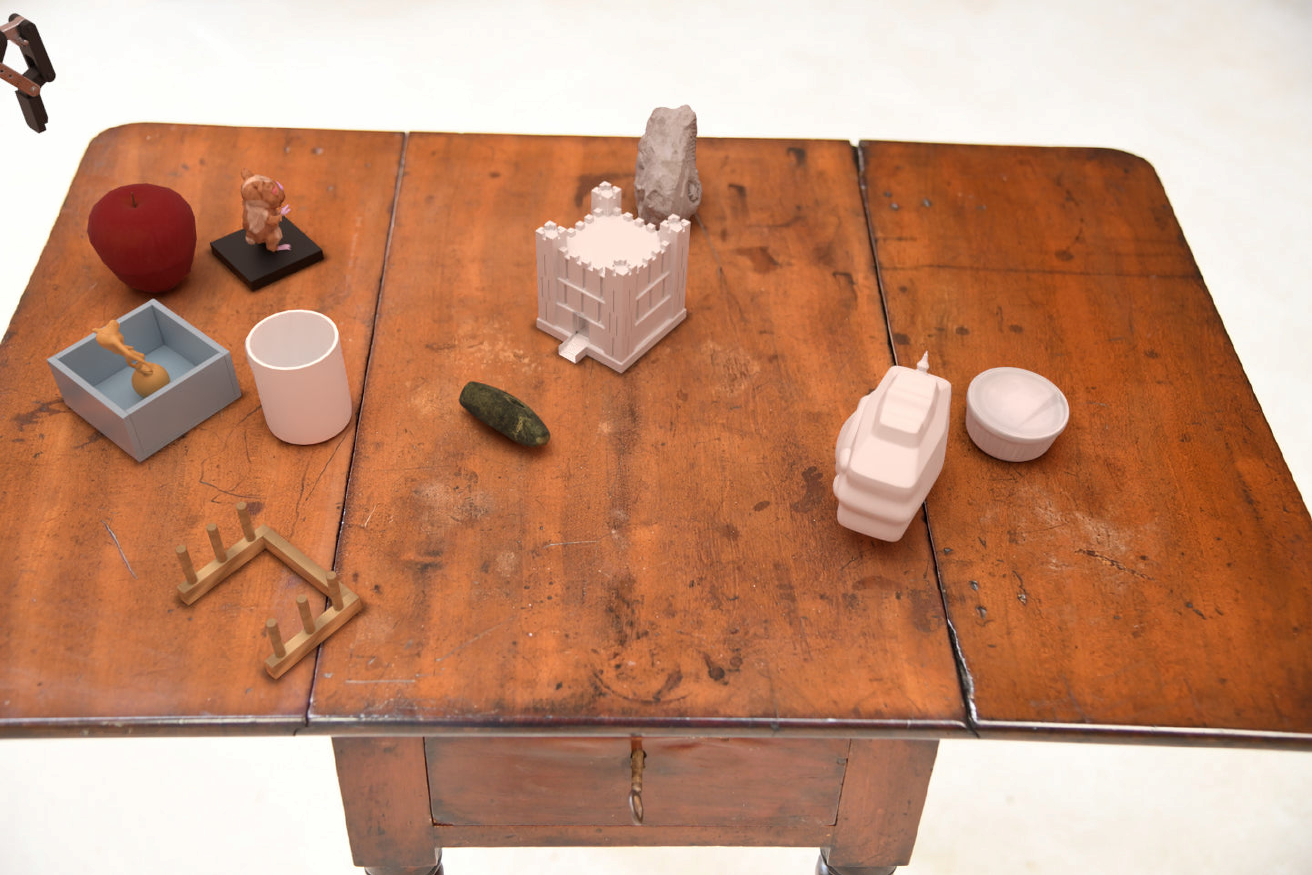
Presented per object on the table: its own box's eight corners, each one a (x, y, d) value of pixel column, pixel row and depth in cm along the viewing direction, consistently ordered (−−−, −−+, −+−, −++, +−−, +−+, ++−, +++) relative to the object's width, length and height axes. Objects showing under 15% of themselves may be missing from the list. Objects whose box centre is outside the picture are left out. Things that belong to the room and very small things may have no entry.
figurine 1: (193, 400, 141) (167, 319, 132) (148, 430, 138) (119, 349, 129) (146, 368, 144) (118, 286, 136) (101, 396, 141) (69, 314, 132)
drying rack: (276, 679, 117) (261, 636, 112) (180, 599, 123) (163, 554, 118) (362, 609, 123) (352, 564, 118) (267, 535, 129) (254, 490, 124)
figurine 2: (324, 259, 160) (309, 179, 152) (253, 291, 155) (233, 211, 147) (282, 221, 165) (265, 143, 157) (212, 252, 160) (190, 172, 152)
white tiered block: (947, 458, 140) (979, 352, 129) (906, 576, 129) (937, 471, 117) (852, 429, 143) (875, 322, 131) (803, 542, 131) (824, 435, 120)
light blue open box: (139, 463, 135) (122, 418, 130) (65, 404, 141) (46, 359, 136) (242, 396, 143) (229, 351, 138) (167, 342, 149) (153, 298, 144)
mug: (333, 455, 137) (316, 377, 129) (230, 434, 139) (207, 355, 130) (366, 396, 144) (352, 318, 135) (268, 377, 145) (248, 298, 137)
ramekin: (1056, 479, 139) (1069, 446, 135) (954, 459, 140) (964, 426, 136) (1058, 409, 146) (1070, 376, 143) (961, 391, 148) (971, 358, 144)
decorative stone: (558, 412, 143) (558, 380, 139) (548, 462, 138) (547, 430, 134) (462, 403, 143) (458, 371, 140) (448, 452, 138) (444, 420, 134)
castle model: (685, 317, 155) (693, 222, 145) (610, 383, 147) (611, 286, 136) (603, 274, 160) (604, 179, 150) (525, 335, 152) (520, 239, 141)
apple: (216, 250, 161) (193, 161, 151) (200, 310, 153) (174, 220, 143) (119, 252, 160) (89, 162, 150) (98, 312, 152) (64, 222, 142)
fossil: (692, 247, 162) (706, 130, 154) (619, 237, 162) (630, 120, 155) (704, 210, 176) (717, 101, 169) (637, 200, 176) (647, 92, 169)
